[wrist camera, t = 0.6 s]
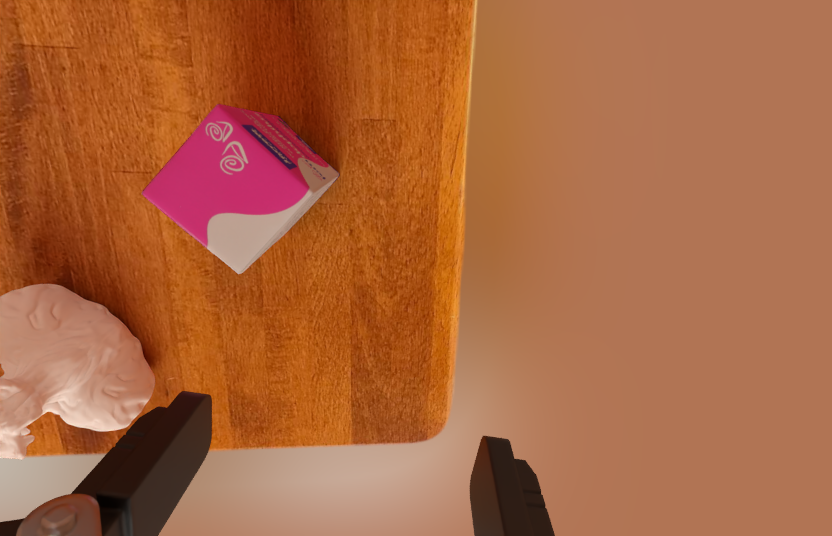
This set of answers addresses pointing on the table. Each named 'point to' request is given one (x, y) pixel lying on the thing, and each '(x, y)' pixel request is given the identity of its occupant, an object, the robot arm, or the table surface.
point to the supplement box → (240, 183)
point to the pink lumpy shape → (66, 365)
